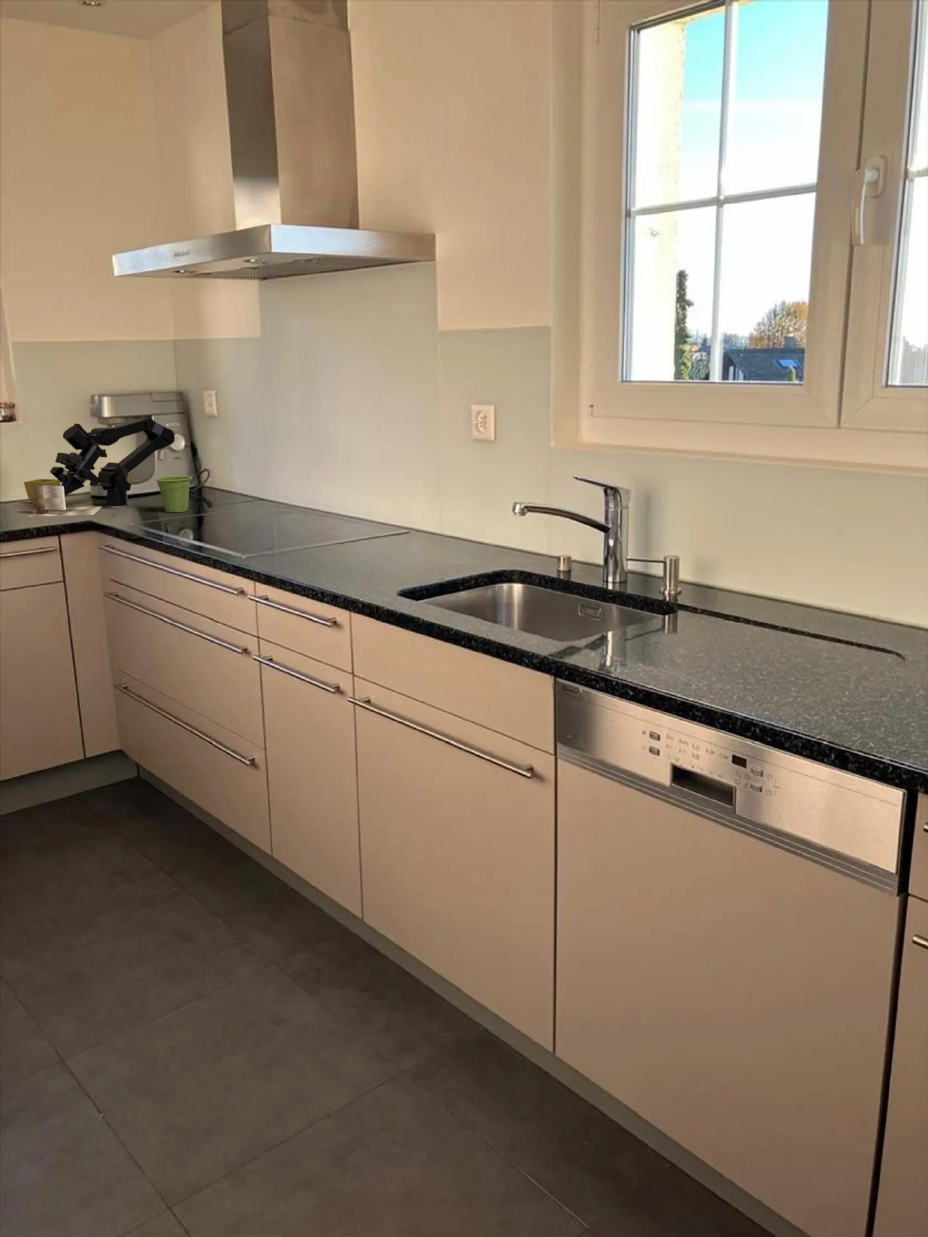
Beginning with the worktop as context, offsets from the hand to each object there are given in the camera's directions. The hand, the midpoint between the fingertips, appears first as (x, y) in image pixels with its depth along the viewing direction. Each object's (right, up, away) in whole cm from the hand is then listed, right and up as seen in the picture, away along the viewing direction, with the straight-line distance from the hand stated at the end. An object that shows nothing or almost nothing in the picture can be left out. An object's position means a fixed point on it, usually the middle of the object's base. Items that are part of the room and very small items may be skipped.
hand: (60, 496), depth 328 cm
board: (0, -5, +6) cm, 8 cm away
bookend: (-3, -5, +3) cm, 6 cm away
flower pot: (-16, 0, +26) cm, 30 cm away
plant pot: (+34, -4, +12) cm, 36 cm away
